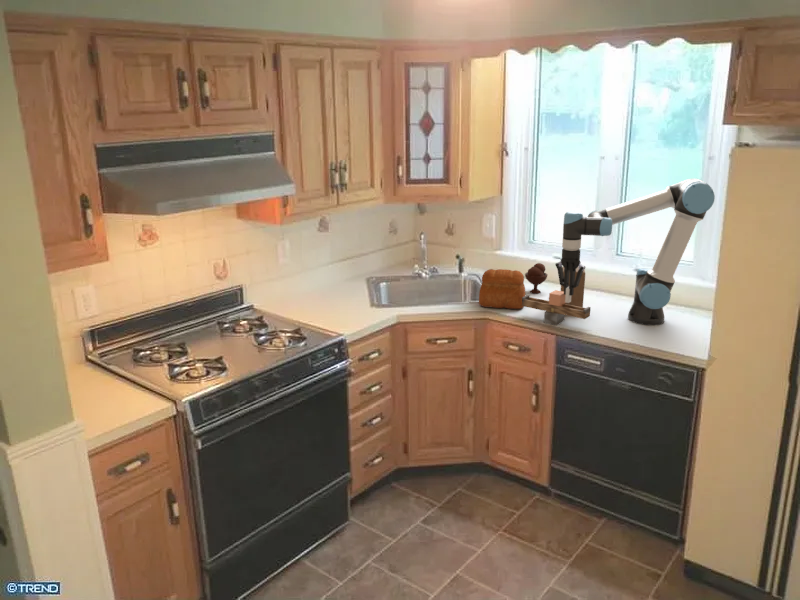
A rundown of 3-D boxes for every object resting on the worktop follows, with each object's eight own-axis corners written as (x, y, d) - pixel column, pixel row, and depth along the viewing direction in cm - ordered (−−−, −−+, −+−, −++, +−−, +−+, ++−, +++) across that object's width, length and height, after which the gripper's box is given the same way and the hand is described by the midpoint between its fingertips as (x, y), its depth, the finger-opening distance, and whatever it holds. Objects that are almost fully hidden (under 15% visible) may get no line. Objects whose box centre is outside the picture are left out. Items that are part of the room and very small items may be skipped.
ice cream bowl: (532, 288, 352) (534, 259, 347) (550, 292, 344) (552, 263, 339) (519, 292, 345) (521, 263, 340) (537, 296, 337) (539, 267, 333)
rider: (565, 305, 299) (566, 292, 297) (559, 309, 294) (560, 295, 293) (554, 303, 302) (555, 290, 300) (548, 306, 297) (549, 293, 296)
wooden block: (582, 314, 310) (585, 272, 304) (559, 313, 312) (562, 271, 306) (581, 308, 319) (584, 266, 313) (559, 306, 321) (562, 265, 315)
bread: (523, 311, 315) (525, 276, 310) (477, 308, 319) (478, 274, 314) (525, 300, 331) (527, 267, 326) (481, 298, 336) (482, 264, 331)
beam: (590, 326, 295) (591, 306, 292) (582, 331, 289) (584, 310, 286) (528, 312, 313) (529, 294, 310) (519, 317, 307) (520, 298, 304)
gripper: (589, 248, 286) (586, 302, 293) (561, 245, 294) (558, 297, 301) (582, 252, 281) (578, 306, 288) (553, 248, 289) (550, 301, 296)
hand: (568, 302), depth 294 cm, fingers closed
